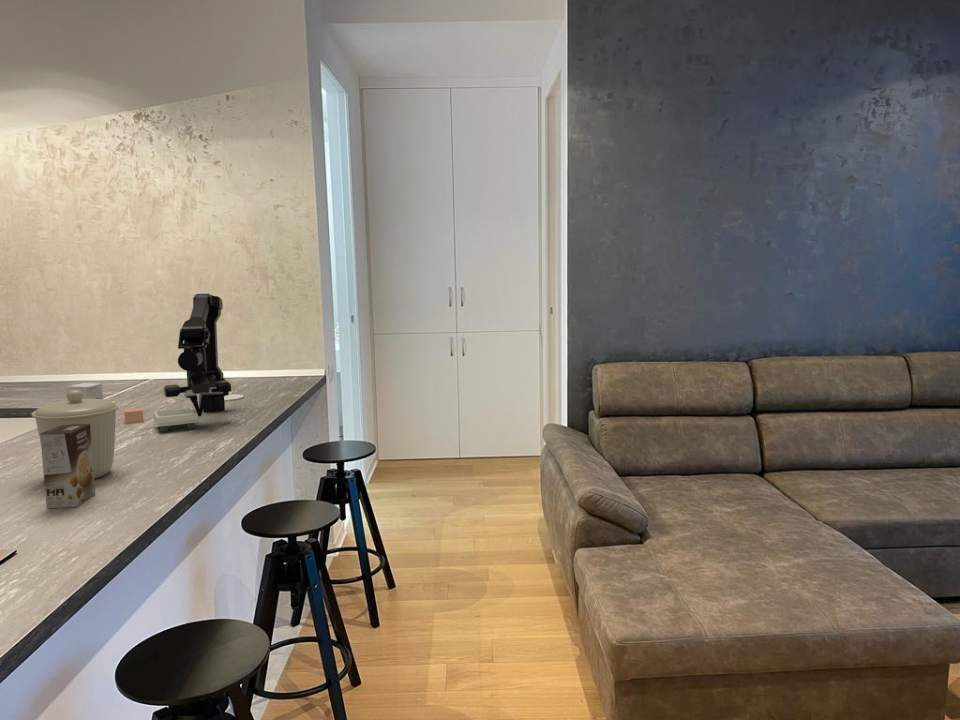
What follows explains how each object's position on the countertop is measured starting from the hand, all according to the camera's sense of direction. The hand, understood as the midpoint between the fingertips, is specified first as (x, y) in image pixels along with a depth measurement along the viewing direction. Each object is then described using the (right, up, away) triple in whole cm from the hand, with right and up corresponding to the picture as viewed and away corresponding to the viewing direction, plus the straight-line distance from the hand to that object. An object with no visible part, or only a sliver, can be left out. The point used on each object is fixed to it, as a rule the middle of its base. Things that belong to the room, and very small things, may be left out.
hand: (199, 416), depth 223 cm
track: (-8, -5, -4) cm, 10 cm away
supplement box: (-40, -3, +10) cm, 41 cm away
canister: (-10, -11, -48) cm, 50 cm away
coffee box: (-2, -13, -66) cm, 68 cm away
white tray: (-6, -3, -3) cm, 7 cm away
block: (-23, -4, +7) cm, 25 cm away
